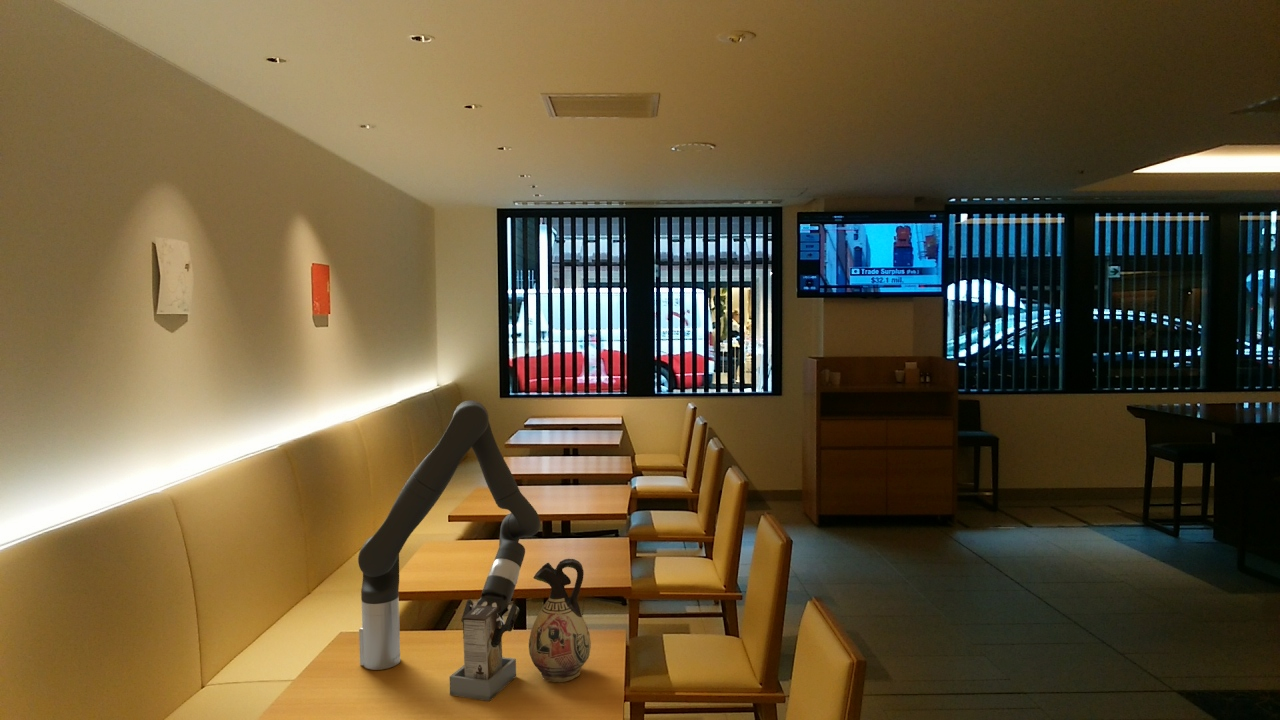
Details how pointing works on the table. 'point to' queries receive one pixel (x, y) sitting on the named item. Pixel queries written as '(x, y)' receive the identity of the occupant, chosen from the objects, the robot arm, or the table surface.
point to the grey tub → (482, 682)
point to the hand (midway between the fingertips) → (479, 644)
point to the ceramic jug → (560, 627)
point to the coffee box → (481, 643)
